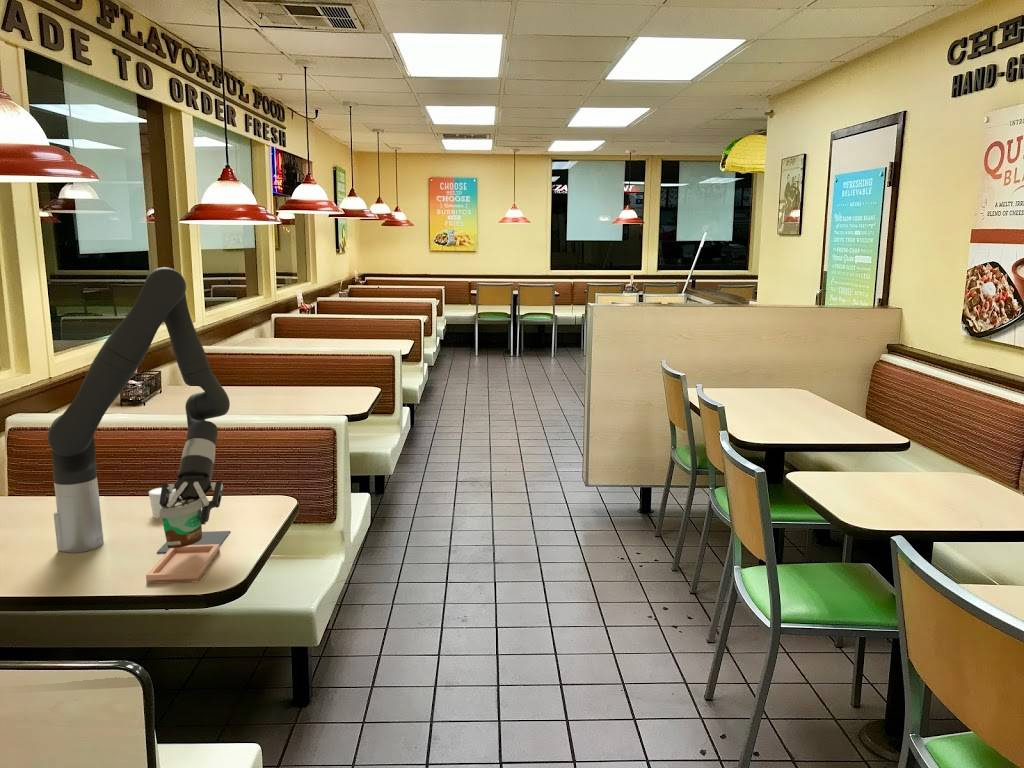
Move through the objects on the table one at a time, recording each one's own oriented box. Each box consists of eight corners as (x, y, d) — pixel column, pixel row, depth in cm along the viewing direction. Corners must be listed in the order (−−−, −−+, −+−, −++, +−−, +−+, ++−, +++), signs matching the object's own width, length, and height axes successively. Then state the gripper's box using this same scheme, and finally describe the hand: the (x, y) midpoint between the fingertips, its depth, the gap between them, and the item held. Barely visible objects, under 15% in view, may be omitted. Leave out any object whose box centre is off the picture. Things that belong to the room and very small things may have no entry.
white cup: (171, 518, 210) (168, 494, 209) (146, 518, 210) (143, 494, 209) (181, 510, 217) (180, 486, 216) (157, 510, 217) (155, 486, 216)
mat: (156, 553, 186) (156, 552, 186) (175, 533, 199) (174, 532, 199) (216, 551, 188) (216, 550, 188) (230, 531, 200) (230, 530, 200)
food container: (188, 552, 175) (183, 510, 173) (164, 550, 176) (158, 509, 174) (217, 531, 187) (213, 491, 185) (194, 529, 188) (190, 491, 186)
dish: (146, 583, 170) (145, 575, 169) (173, 553, 186) (172, 545, 186) (198, 581, 170) (197, 573, 170) (219, 551, 187) (219, 544, 187)
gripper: (162, 454, 185) (148, 518, 176) (224, 452, 186) (213, 515, 177) (171, 469, 191) (159, 531, 182) (231, 467, 192) (222, 529, 183)
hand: (186, 523), depth 179 cm, fingers closed on food container, 7 cm apart
